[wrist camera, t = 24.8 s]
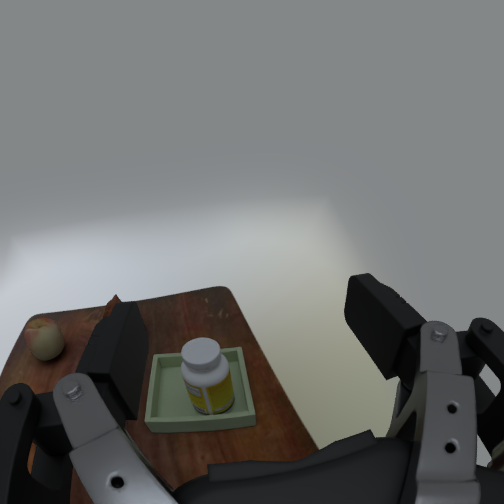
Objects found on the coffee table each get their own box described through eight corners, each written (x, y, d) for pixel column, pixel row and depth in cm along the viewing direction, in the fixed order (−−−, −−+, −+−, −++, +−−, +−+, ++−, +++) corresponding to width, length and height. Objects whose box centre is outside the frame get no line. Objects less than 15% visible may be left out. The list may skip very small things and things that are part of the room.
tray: (242, 359, 44) (241, 346, 42) (256, 425, 31) (255, 414, 30) (158, 367, 42) (153, 354, 41) (151, 432, 29) (144, 421, 28)
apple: (32, 354, 40) (16, 324, 37) (61, 336, 47) (47, 306, 44) (44, 374, 36) (25, 343, 33) (76, 353, 43) (60, 321, 40)
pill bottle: (235, 386, 38) (227, 332, 33) (235, 419, 32) (226, 367, 27) (194, 386, 37) (179, 333, 33) (190, 419, 32) (171, 368, 27)
